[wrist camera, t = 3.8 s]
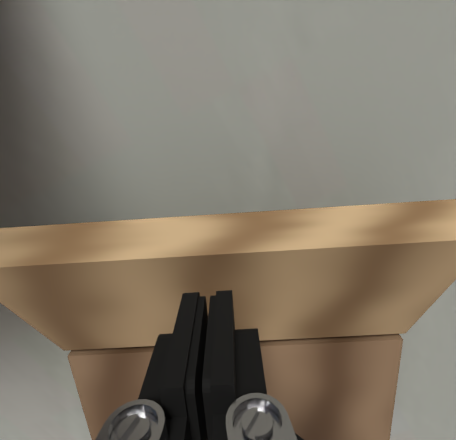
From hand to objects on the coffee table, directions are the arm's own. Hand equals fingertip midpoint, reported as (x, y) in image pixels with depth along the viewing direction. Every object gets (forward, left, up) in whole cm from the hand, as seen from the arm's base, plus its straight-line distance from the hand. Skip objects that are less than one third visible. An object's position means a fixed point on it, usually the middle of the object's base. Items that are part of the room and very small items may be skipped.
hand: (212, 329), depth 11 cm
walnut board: (0, +11, -8) cm, 14 cm away
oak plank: (0, +1, -6) cm, 6 cm away
